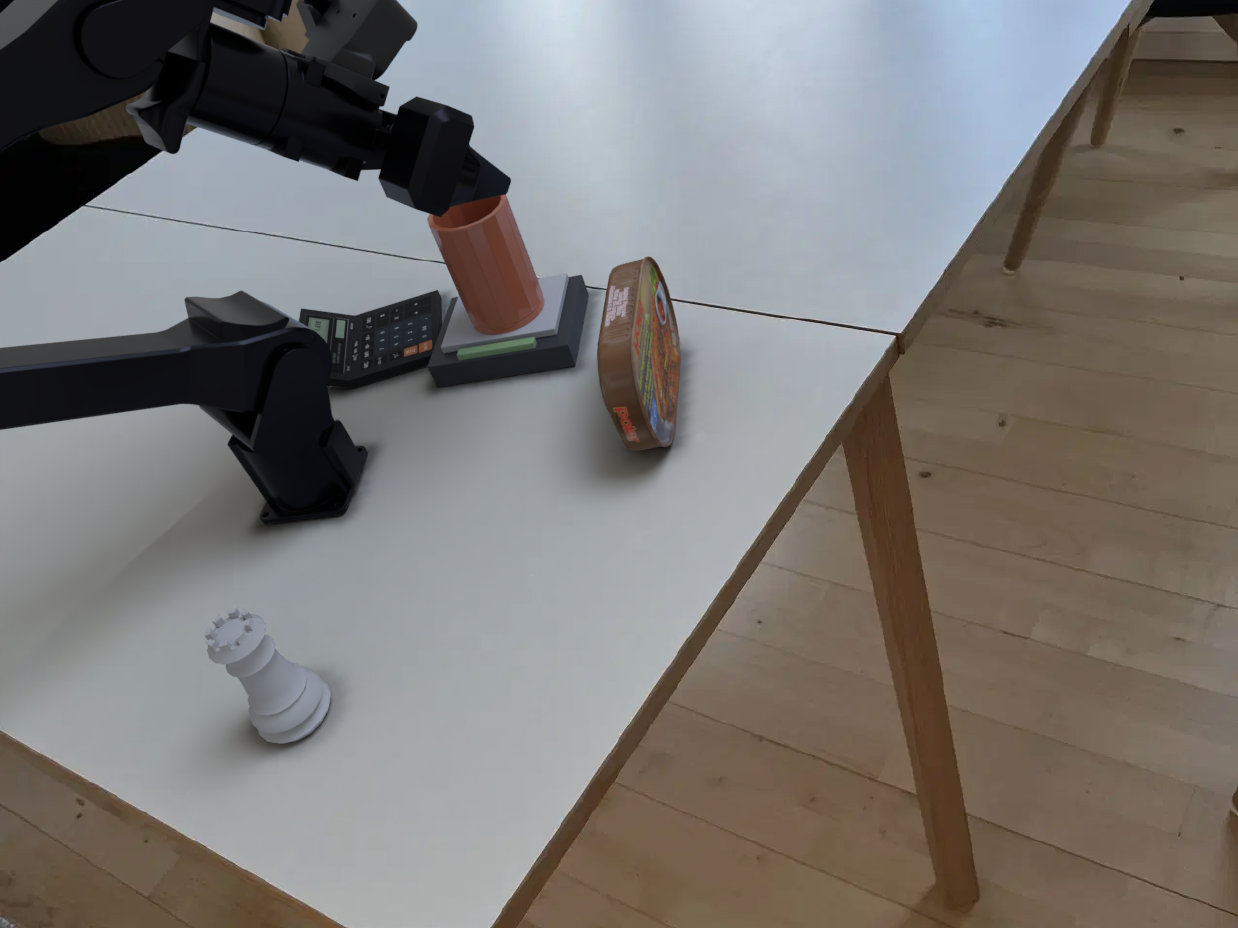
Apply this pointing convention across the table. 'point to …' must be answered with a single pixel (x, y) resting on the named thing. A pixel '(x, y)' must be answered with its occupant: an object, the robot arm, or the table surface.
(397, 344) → the calculator
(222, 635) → the rook chess piece
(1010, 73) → the table surface
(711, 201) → the table surface
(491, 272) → the cup
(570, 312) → the scale
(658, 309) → the tin
